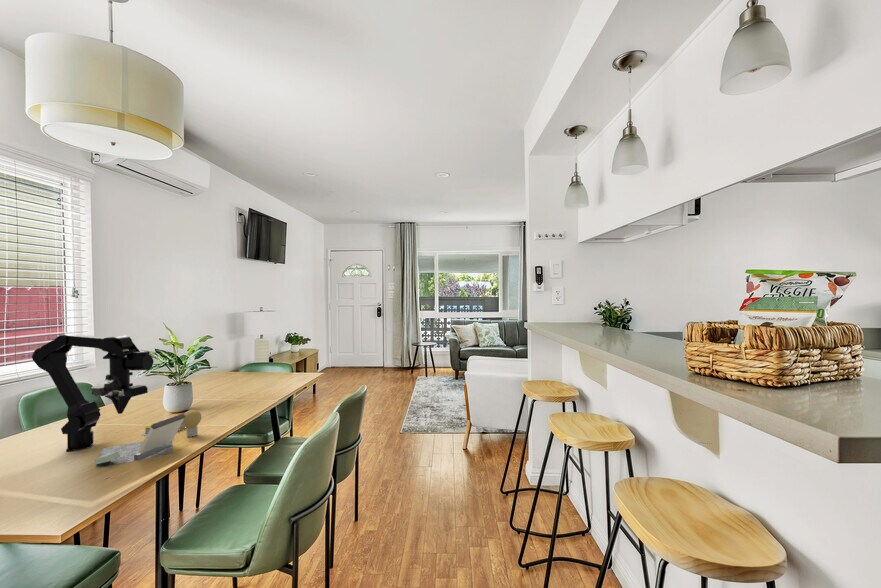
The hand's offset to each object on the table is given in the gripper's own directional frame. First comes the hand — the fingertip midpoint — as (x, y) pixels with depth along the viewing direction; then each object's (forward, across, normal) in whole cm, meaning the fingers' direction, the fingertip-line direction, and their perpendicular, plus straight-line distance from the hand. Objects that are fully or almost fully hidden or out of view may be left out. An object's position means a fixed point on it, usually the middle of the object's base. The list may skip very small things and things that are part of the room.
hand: (120, 413), depth 146 cm
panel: (+12, +12, -4) cm, 18 cm away
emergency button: (+13, +1, +18) cm, 22 cm away
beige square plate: (+9, +20, -4) cm, 22 cm away
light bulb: (+12, +17, +14) cm, 25 cm away
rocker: (+11, +13, -14) cm, 22 cm away
